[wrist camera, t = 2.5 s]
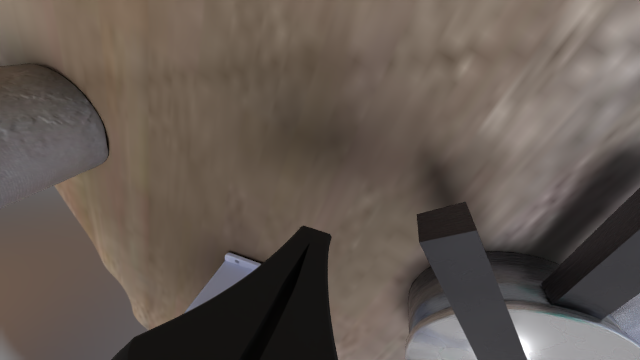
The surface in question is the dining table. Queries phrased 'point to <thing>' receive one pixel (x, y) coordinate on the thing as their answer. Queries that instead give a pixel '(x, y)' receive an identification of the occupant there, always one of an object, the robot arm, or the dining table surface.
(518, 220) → the dining table surface
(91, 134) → the pillar candle
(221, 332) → the robot arm
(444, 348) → the lid
